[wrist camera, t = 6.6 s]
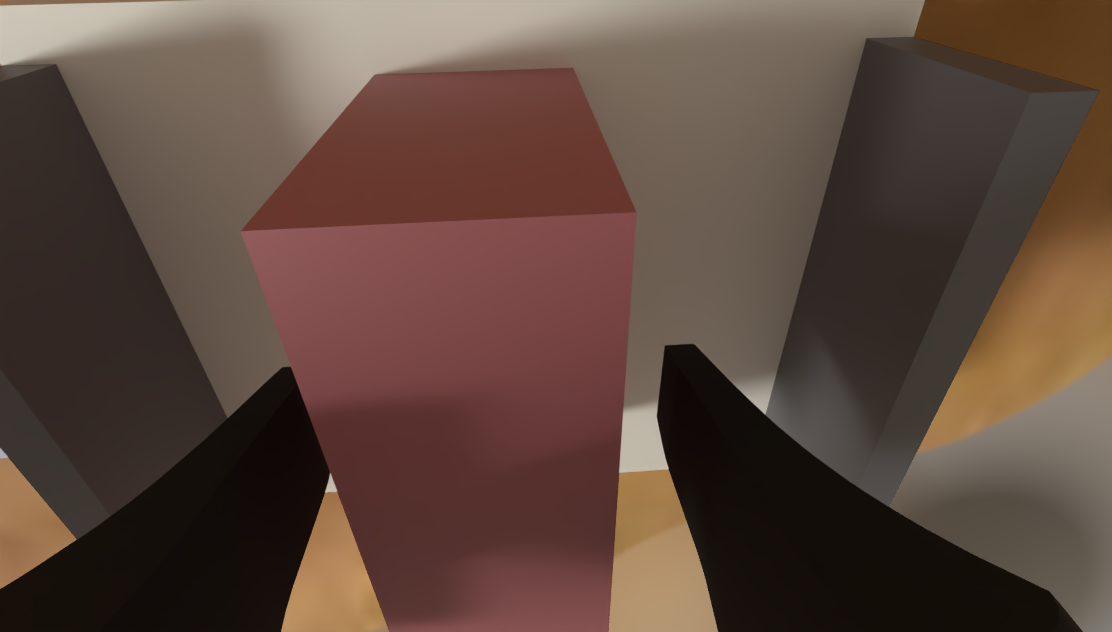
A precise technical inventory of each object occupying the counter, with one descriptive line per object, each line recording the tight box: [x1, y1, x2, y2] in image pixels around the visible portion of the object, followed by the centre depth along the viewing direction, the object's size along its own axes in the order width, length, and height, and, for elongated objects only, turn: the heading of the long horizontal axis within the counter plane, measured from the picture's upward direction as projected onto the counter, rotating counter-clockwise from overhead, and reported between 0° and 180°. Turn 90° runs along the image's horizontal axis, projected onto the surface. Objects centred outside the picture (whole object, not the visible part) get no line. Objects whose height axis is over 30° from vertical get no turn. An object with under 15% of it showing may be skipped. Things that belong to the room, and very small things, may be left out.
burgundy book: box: [241, 68, 637, 632], centre depth 12 cm, size 4×10×7 cm, turn 1°
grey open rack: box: [0, 0, 1099, 539], centre depth 14 cm, size 18×14×6 cm
